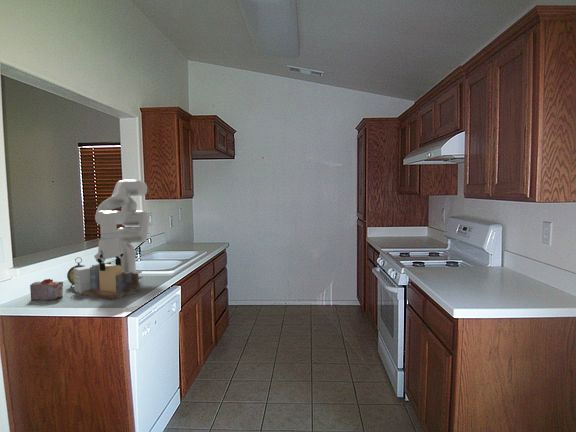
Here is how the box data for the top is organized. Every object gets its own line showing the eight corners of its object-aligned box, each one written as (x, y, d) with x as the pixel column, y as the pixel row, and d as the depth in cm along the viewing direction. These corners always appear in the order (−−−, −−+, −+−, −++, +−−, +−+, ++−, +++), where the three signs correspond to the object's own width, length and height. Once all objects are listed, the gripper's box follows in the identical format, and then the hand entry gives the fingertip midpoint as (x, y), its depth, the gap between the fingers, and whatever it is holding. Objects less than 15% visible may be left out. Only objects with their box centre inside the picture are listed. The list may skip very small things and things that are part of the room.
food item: (66, 296, 184) (65, 277, 184) (57, 301, 176) (56, 280, 176) (38, 296, 184) (37, 277, 183) (28, 301, 176) (26, 281, 175)
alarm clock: (67, 288, 199) (66, 258, 198) (70, 285, 205) (69, 257, 204) (89, 286, 203) (88, 257, 201) (91, 284, 208) (90, 256, 207)
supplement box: (89, 288, 198) (88, 265, 198) (95, 290, 194) (94, 267, 193) (74, 291, 193) (73, 267, 192) (80, 294, 188) (79, 269, 187)
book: (106, 287, 194) (105, 263, 193) (122, 290, 189) (121, 265, 188) (99, 289, 190) (98, 265, 189) (116, 292, 185) (115, 267, 184)
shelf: (109, 287, 201) (108, 261, 200) (138, 291, 192) (138, 264, 191) (82, 294, 187) (81, 266, 186) (113, 299, 178) (112, 270, 177)
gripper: (117, 233, 197) (119, 264, 199) (88, 237, 181) (90, 271, 183) (128, 234, 194) (129, 265, 195) (99, 238, 178) (101, 273, 180)
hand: (110, 268), depth 189 cm, fingers open, 9 cm apart
